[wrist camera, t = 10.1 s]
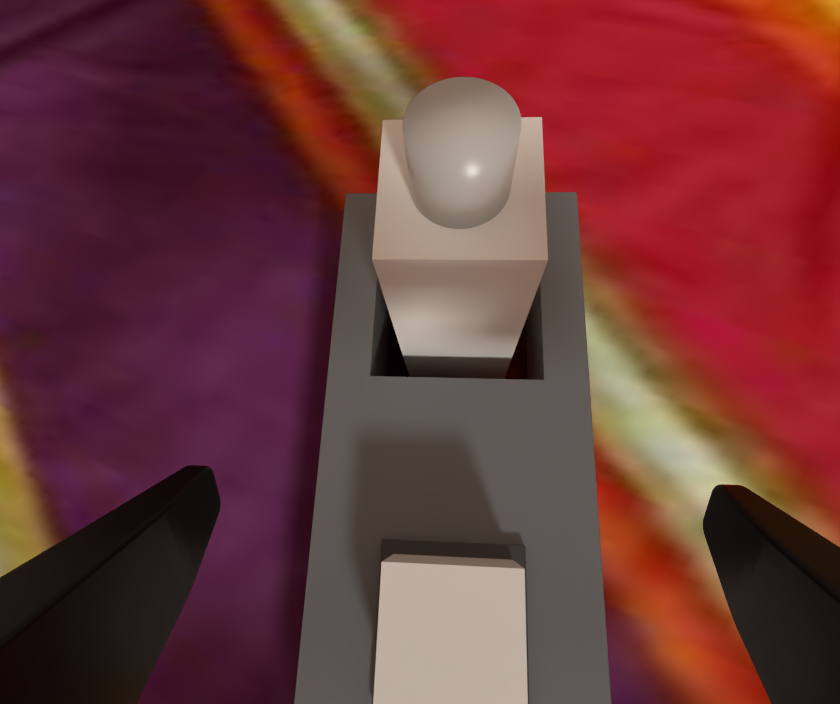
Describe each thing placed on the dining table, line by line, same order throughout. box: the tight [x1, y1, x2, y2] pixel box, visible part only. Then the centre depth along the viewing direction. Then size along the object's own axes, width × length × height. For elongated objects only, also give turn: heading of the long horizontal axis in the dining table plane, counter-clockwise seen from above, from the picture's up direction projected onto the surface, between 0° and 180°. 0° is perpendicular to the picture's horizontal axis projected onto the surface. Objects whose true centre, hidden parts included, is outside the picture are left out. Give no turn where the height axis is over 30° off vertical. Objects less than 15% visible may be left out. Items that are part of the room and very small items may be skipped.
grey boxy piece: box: [294, 192, 611, 704], centre depth 17 cm, size 21×9×7 cm, turn 178°
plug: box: [372, 77, 548, 379], centre depth 16 cm, size 4×4×12 cm
